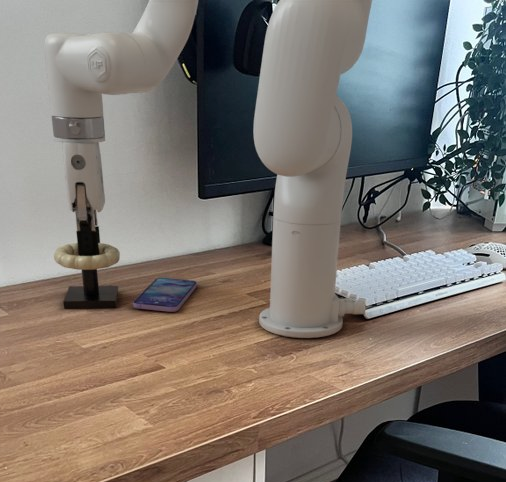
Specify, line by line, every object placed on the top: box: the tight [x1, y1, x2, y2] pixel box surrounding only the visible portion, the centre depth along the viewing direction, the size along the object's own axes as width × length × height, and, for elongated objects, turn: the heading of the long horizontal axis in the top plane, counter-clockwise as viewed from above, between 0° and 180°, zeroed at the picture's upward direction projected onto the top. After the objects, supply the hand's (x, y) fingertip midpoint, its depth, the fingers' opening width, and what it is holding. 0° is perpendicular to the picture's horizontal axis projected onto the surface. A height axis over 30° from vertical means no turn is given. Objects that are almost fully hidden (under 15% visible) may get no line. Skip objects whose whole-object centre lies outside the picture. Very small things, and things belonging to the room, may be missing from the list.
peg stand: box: [63, 254, 119, 310], centre depth 110 cm, size 8×8×7 cm
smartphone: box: [132, 277, 198, 313], centre depth 114 cm, size 7×1×15 cm
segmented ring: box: [53, 242, 121, 271], centre depth 108 cm, size 10×10×2 cm
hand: (89, 253), depth 112 cm, fingers closed on segmented ring, 2 cm apart
